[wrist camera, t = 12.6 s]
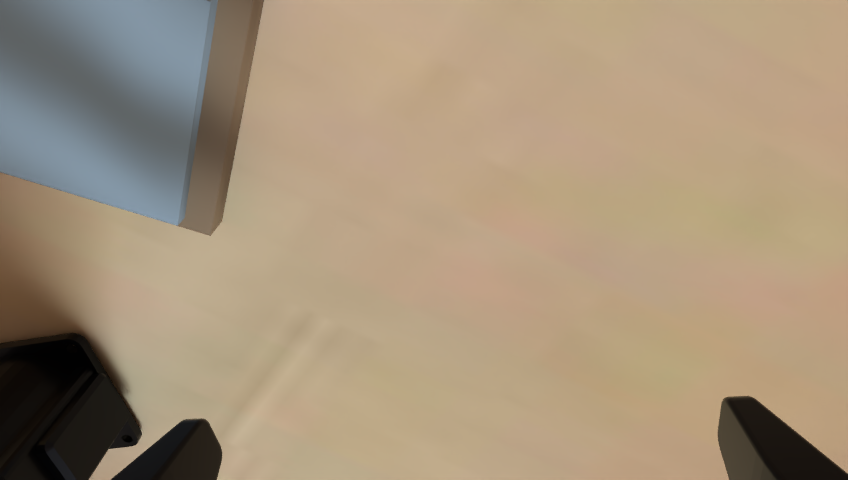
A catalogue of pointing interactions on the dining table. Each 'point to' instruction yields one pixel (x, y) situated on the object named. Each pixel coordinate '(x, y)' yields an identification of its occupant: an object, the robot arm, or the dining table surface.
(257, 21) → the ticket holder
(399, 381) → the dining table surface
